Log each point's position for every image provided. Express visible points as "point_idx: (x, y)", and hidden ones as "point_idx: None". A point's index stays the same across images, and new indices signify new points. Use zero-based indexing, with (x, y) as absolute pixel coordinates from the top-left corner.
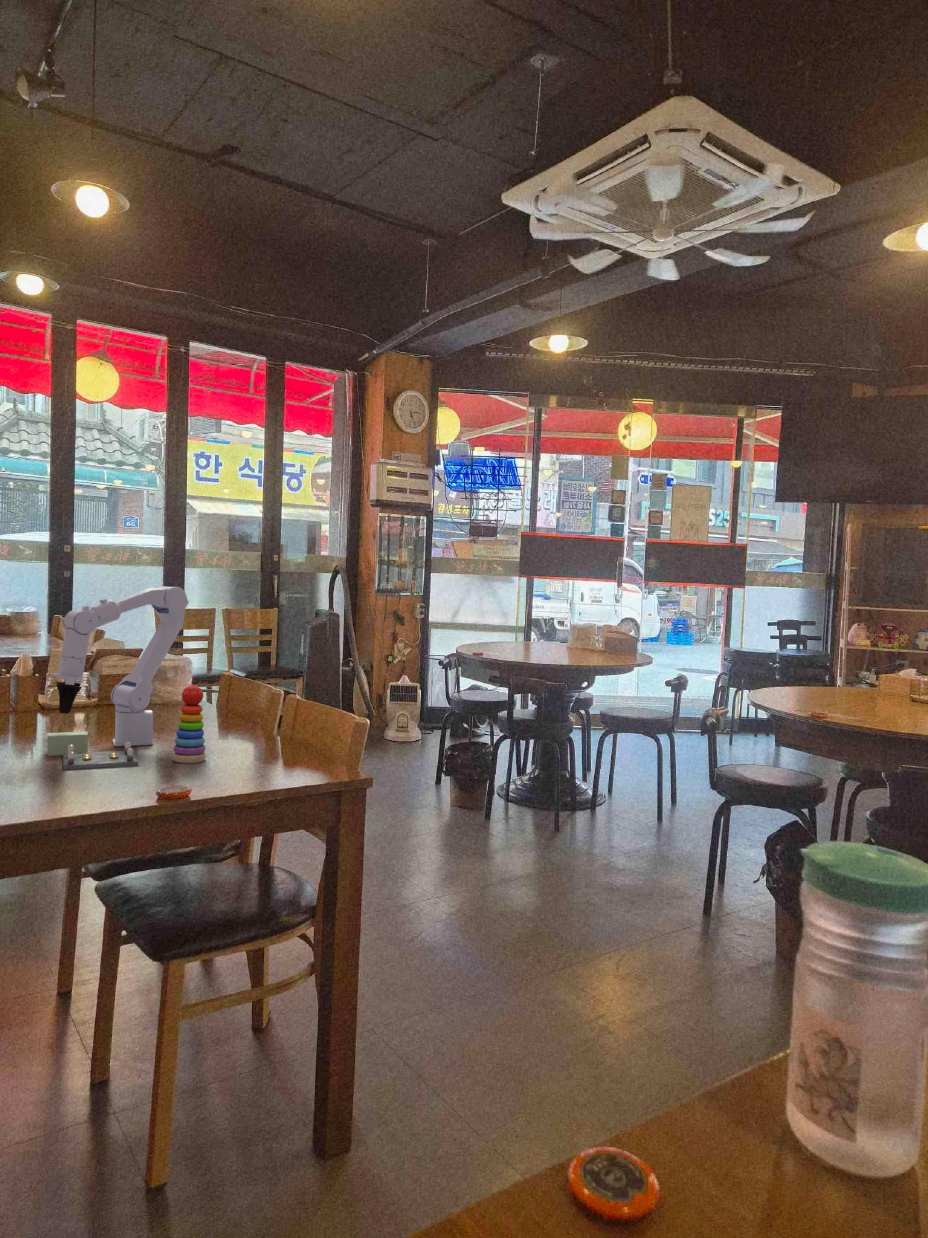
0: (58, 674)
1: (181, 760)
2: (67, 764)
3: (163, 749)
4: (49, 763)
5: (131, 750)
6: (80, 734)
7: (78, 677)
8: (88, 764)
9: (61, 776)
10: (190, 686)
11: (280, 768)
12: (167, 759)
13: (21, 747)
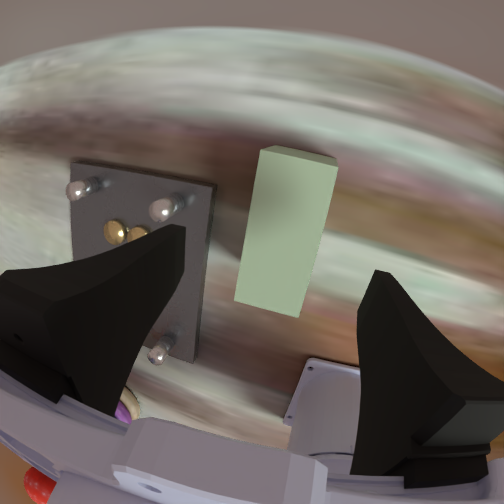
0: (98, 473)
1: None
2: (78, 173)
3: (228, 416)
4: (158, 133)
5: None
6: (245, 278)
7: (56, 478)
8: (71, 220)
9: (38, 151)
10: (29, 495)
11: None
12: (129, 377)
13: (461, 106)
